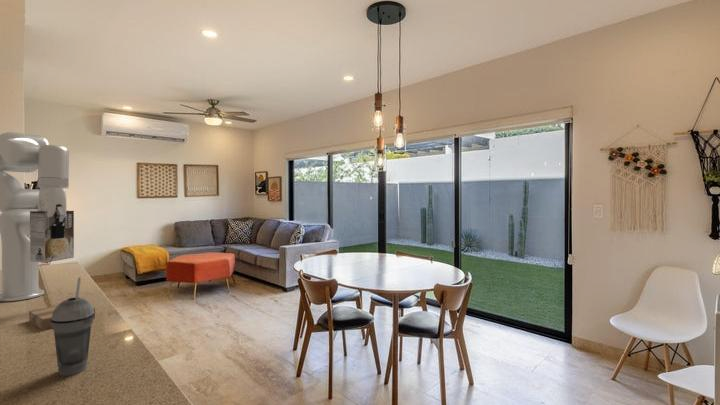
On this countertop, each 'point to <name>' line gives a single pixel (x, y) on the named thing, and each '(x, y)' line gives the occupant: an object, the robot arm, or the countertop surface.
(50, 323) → the walnut base
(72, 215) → the coffee box
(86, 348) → the beverage cup
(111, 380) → the countertop surface
